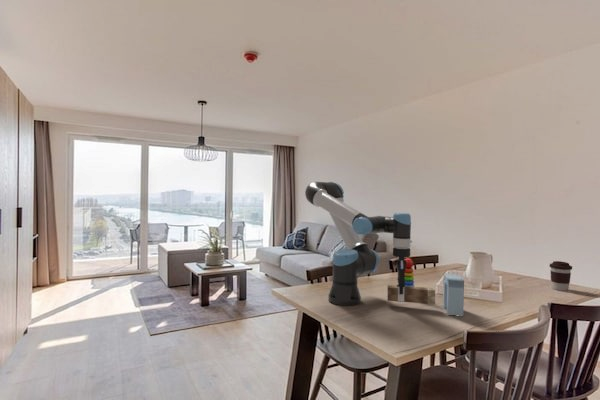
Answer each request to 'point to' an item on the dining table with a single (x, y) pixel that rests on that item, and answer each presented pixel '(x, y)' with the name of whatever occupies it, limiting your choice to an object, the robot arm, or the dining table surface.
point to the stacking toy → (409, 273)
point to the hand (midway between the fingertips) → (400, 299)
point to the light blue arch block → (453, 294)
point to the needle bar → (413, 294)
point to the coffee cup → (560, 275)
